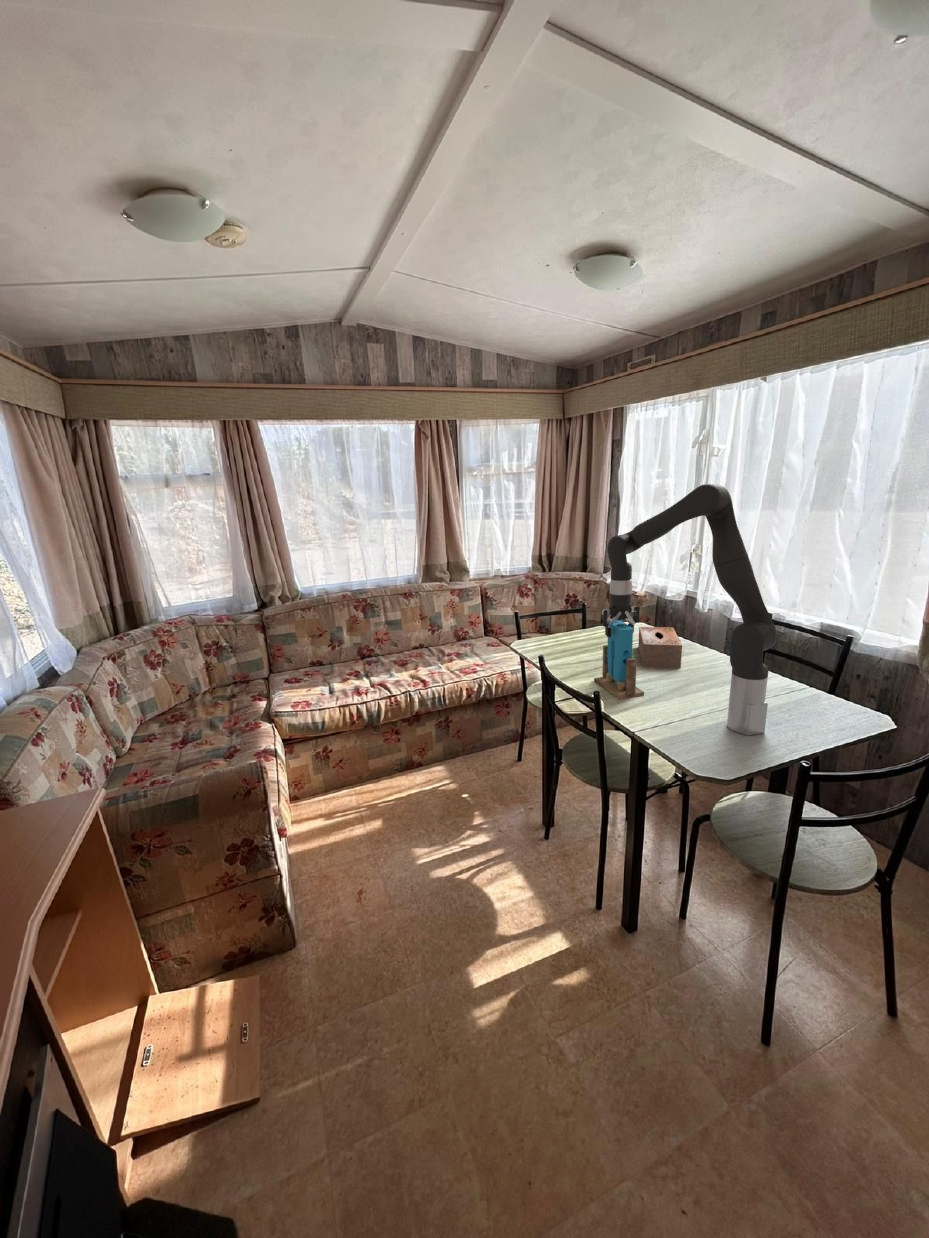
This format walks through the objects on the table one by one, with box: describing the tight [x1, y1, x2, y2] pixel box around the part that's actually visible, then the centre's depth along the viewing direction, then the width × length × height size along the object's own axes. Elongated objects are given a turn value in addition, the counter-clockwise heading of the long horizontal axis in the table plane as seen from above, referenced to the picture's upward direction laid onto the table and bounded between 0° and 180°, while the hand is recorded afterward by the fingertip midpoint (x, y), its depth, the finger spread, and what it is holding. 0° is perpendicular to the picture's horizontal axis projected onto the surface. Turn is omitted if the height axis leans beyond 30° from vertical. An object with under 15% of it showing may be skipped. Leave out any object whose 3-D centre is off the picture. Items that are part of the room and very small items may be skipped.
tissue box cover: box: [637, 626, 683, 669], centre depth 211 cm, size 26×14×10 cm, turn 165°
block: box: [607, 620, 634, 682], centre depth 179 cm, size 12×5×20 cm, turn 5°
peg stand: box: [593, 644, 645, 700], centre depth 181 cm, size 10×18×14 cm, turn 13°
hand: (619, 635), depth 178 cm, fingers open, 8 cm apart
